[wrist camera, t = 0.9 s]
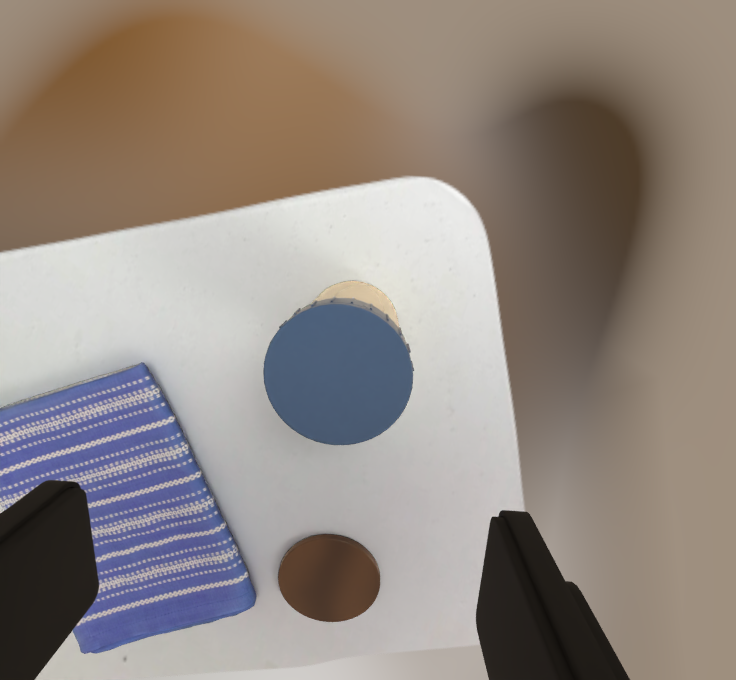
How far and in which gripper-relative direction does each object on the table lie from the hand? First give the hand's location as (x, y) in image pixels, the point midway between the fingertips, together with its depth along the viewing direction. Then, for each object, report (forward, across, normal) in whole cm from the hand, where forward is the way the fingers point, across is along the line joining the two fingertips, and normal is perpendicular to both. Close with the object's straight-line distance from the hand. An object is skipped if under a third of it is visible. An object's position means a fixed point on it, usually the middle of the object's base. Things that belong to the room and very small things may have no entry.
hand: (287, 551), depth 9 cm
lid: (+12, 0, 0) cm, 12 cm away
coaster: (+22, +1, +23) cm, 32 cm away
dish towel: (+22, +19, +18) cm, 34 cm away
